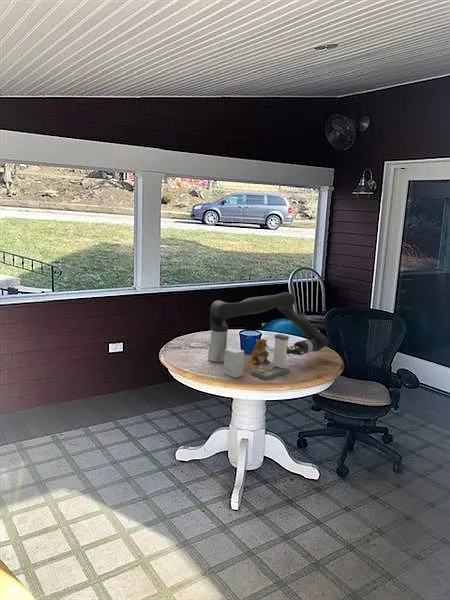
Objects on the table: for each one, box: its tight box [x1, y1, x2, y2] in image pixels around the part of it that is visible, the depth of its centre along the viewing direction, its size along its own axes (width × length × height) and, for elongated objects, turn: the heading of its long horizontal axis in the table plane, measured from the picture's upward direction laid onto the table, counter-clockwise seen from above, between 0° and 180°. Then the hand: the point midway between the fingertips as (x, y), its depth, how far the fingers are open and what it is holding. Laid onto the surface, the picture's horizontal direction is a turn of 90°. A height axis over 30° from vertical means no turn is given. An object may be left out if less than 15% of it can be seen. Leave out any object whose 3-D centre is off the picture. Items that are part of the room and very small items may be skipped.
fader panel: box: [250, 364, 291, 381], centre depth 257 cm, size 20×10×2 cm, turn 137°
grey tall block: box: [272, 333, 290, 368], centre depth 261 cm, size 4×6×17 cm, turn 47°
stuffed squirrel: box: [250, 338, 271, 365], centre depth 277 cm, size 10×14×13 cm
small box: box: [223, 347, 245, 378], centre depth 251 cm, size 8×6×13 cm
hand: (284, 352), depth 264 cm, fingers closed
